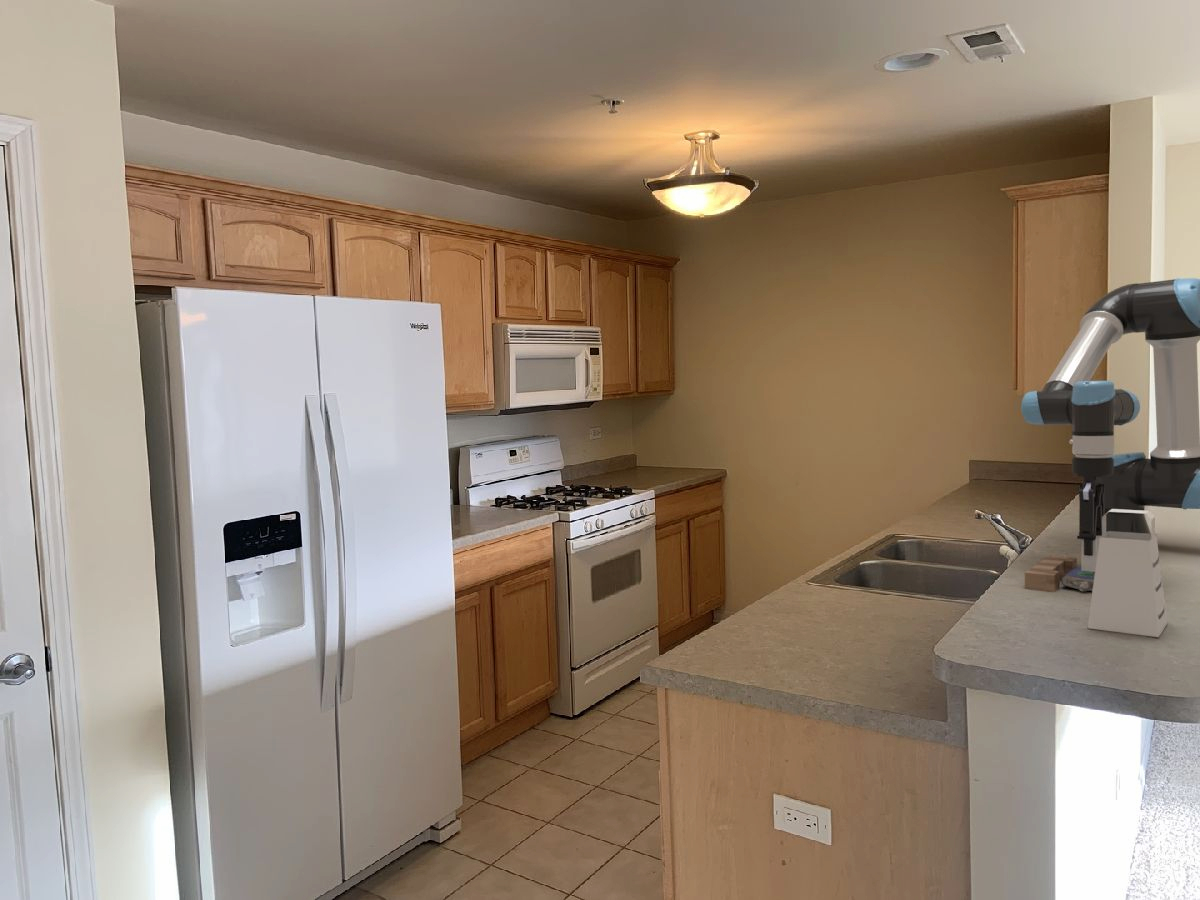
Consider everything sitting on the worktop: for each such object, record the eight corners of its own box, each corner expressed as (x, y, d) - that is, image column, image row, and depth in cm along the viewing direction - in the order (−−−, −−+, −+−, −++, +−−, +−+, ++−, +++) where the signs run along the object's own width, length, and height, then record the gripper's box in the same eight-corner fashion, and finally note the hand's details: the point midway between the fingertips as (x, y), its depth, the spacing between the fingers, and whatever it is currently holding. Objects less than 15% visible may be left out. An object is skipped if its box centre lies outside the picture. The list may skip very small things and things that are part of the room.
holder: (1049, 570, 199) (1049, 555, 198) (1159, 581, 185) (1159, 564, 185) (1024, 589, 182) (1024, 572, 182) (1143, 602, 169) (1143, 583, 169)
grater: (1099, 614, 161) (1099, 505, 160) (1167, 622, 155) (1168, 509, 153) (1087, 628, 153) (1087, 513, 152) (1158, 637, 147) (1159, 517, 145)
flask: (1121, 569, 181) (1107, 582, 174) (1122, 583, 182) (1107, 596, 174) (1072, 564, 188) (1056, 576, 180) (1072, 578, 188) (1057, 590, 180)
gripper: (1081, 453, 191) (1080, 560, 192) (1062, 458, 177) (1061, 574, 179) (1121, 453, 186) (1120, 563, 188) (1104, 459, 173) (1103, 578, 174)
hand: (1091, 568), depth 183 cm, fingers closed on flask, 5 cm apart
